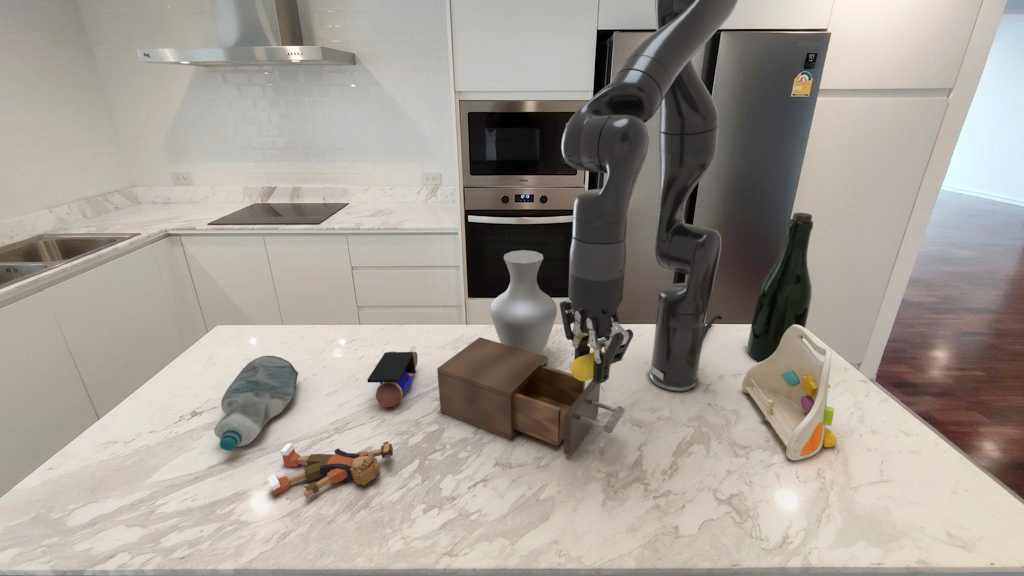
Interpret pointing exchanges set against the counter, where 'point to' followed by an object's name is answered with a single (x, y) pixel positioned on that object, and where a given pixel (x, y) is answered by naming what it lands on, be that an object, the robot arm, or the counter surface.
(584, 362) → the yellow capsule
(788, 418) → the shape sorter
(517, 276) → the vase
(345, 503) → the counter surface
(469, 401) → the cabinet
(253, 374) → the plastic water bottle
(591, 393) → the drawer
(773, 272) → the green wine bottle
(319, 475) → the character figurine
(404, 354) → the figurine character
